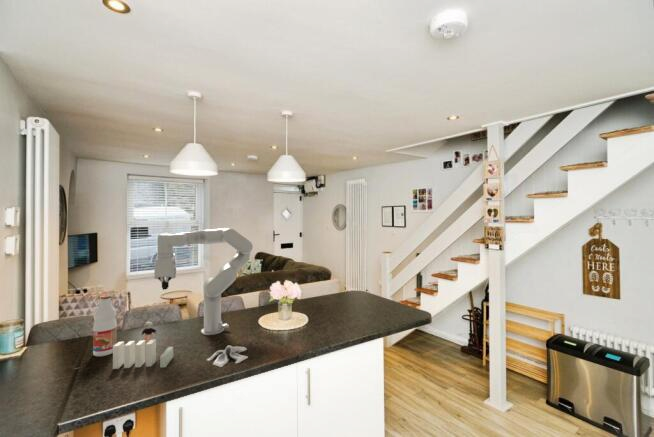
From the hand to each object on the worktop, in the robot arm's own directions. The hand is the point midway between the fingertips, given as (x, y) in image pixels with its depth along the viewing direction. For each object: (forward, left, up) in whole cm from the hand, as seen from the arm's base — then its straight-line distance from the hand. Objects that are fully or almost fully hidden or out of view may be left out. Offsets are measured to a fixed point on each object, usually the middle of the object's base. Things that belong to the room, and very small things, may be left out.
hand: (165, 289), depth 167 cm
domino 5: (-12, +25, -25) cm, 37 cm away
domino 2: (+4, +31, -27) cm, 41 cm away
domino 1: (+8, +31, -27) cm, 42 cm away
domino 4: (-5, +31, -27) cm, 42 cm away
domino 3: (-1, +31, -27) cm, 41 cm away
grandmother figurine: (+4, +10, -27) cm, 29 cm away
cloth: (-38, +29, -28) cm, 55 cm away
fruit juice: (+22, +15, -27) cm, 38 cm away
